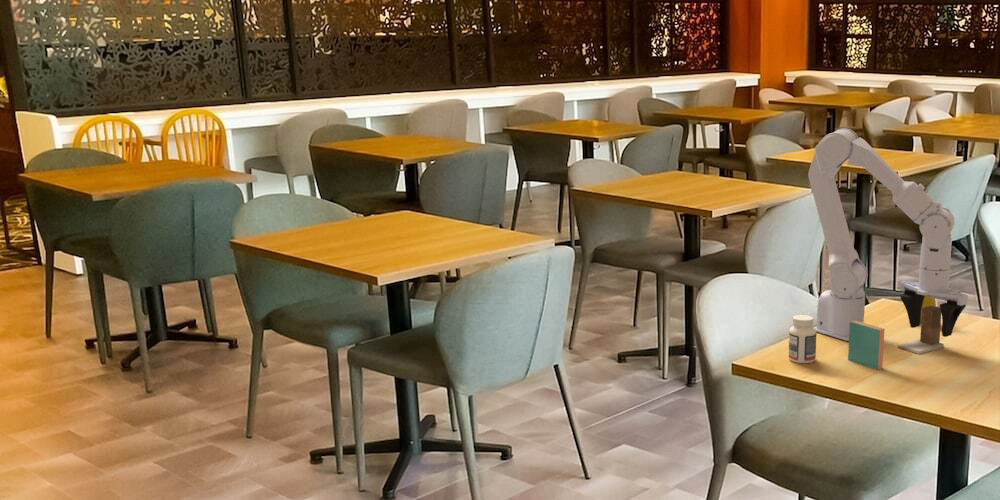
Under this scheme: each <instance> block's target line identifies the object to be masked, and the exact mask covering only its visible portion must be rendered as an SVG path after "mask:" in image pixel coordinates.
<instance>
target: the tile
mask: <svg viewBox="0 0 1000 500" xmlns="http://www.w3.org/2000/svg"><path fill="white" fill-rule="evenodd" d="M884 343H885V328H883V327H879V326H876V325H873V324H869V323H866V322H864V323H863V322H859V321H856V320H855V321H851V322H850V330H849V341H848V356H847V361H850V362H853V363H856V364H859V365H862V366H866V367H869V368H872V369H875V370H879V369H883V366H884V365H883V361H884V347H885V346H884V345H885V344H884Z"/></svg>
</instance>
